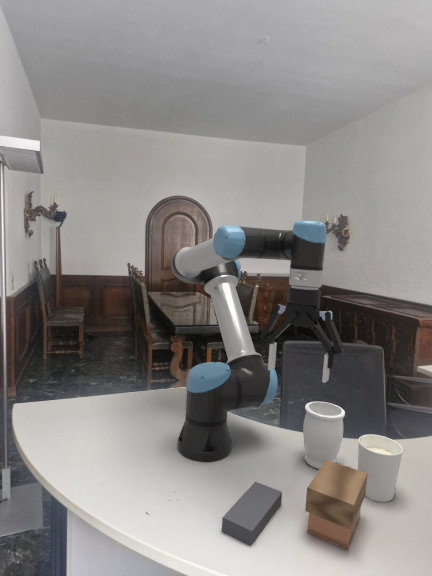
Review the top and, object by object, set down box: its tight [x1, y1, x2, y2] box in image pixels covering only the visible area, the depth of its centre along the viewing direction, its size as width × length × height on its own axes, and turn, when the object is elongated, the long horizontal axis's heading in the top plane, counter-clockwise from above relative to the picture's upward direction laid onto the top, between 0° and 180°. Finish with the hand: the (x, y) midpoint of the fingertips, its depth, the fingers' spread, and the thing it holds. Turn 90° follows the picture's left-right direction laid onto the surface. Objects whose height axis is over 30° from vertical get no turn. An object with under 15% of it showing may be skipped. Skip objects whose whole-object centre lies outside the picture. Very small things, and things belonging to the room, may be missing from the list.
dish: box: [307, 506, 362, 551], centre depth 83 cm, size 8×11×5 cm
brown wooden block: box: [304, 460, 368, 530], centre depth 82 cm, size 9×13×5 cm
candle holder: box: [357, 433, 404, 503], centre depth 95 cm, size 10×10×12 cm
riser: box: [221, 481, 283, 546], centre depth 84 cm, size 7×15×3 cm, turn 149°
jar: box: [302, 401, 346, 470], centre depth 107 cm, size 11×10×15 cm
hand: (297, 374), depth 96 cm, fingers open, 13 cm apart
